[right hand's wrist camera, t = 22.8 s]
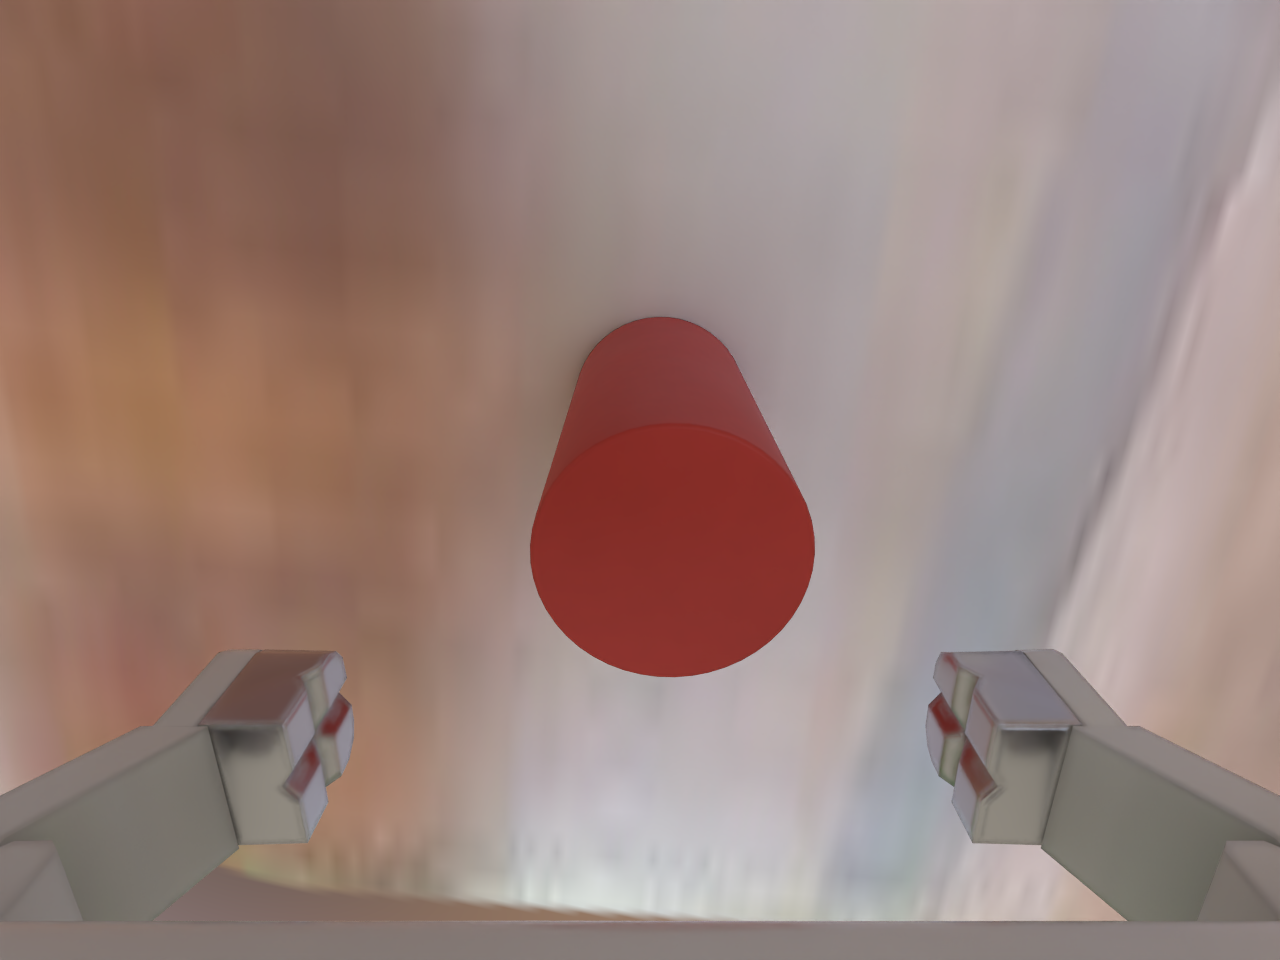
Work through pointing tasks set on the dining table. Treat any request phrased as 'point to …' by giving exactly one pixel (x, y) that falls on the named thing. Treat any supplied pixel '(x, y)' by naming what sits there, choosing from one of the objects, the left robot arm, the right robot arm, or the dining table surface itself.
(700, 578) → the cylinder
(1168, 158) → the dining table surface
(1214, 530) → the dining table surface
